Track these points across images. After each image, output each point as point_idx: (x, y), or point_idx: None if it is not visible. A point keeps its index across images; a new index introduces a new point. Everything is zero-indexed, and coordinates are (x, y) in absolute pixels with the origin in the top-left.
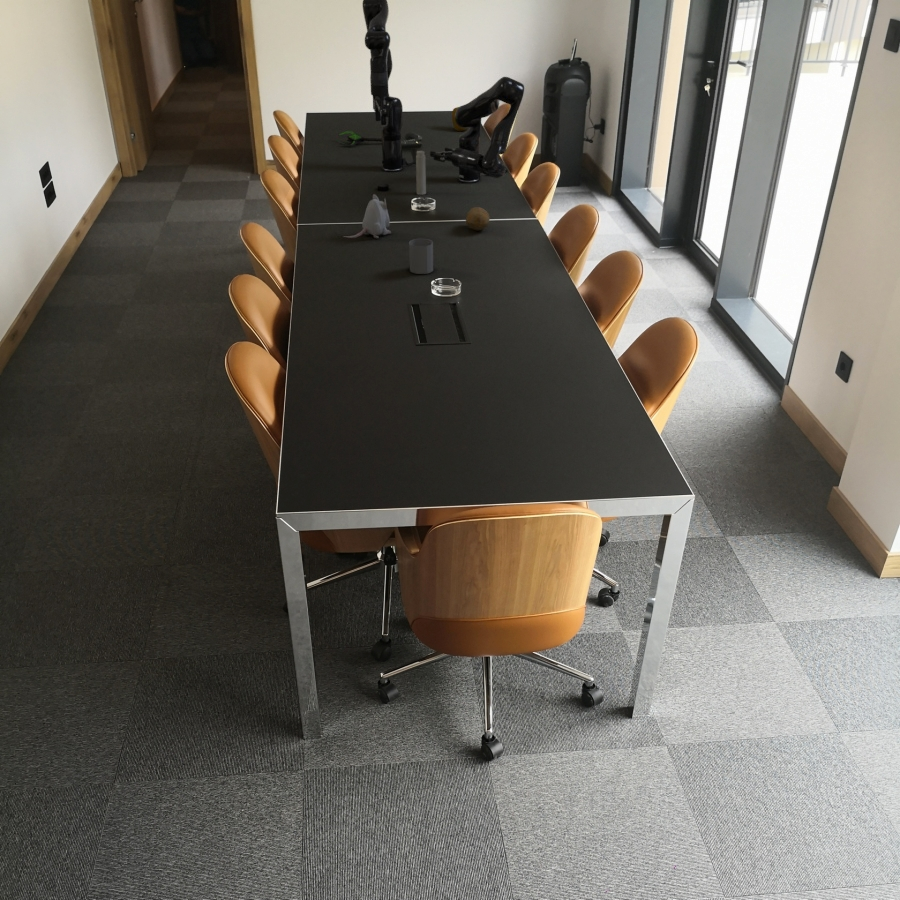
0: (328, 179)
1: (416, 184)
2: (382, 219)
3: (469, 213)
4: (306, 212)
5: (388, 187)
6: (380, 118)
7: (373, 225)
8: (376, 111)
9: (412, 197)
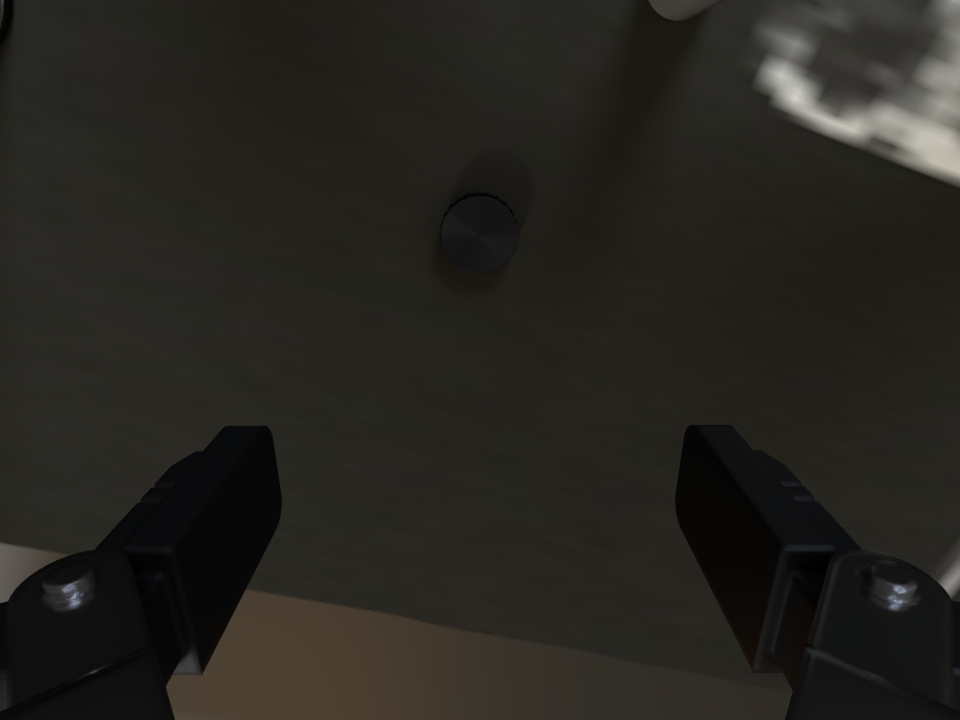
0: (160, 477)
1: (698, 6)
2: None
3: None
4: (704, 669)
5: (497, 199)
6: (251, 446)
7: None
8: (169, 666)
9: (741, 87)
